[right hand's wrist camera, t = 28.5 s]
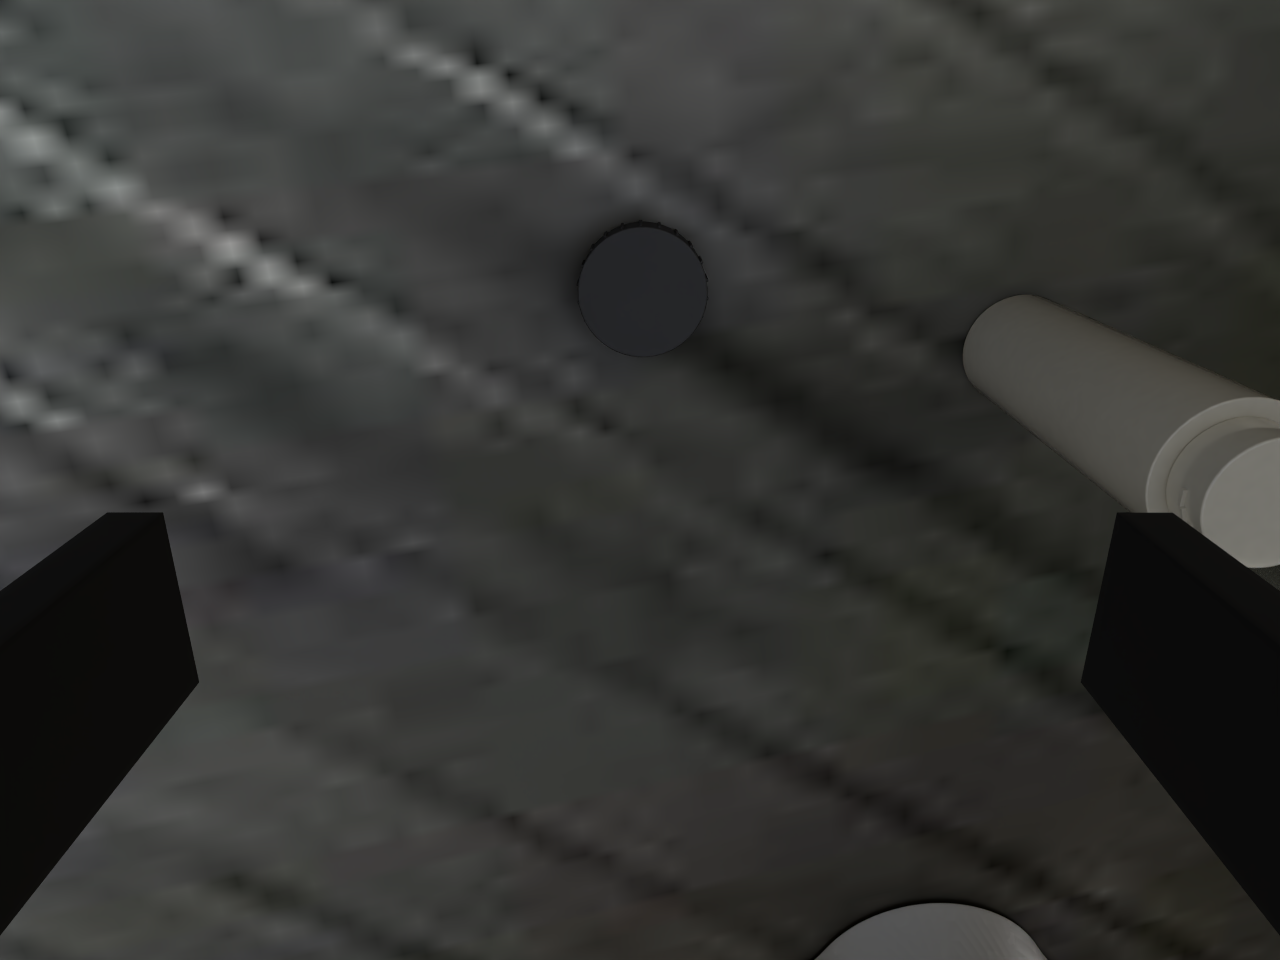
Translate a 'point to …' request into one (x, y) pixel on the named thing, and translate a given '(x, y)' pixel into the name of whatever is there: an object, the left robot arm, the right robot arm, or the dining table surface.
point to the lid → (642, 289)
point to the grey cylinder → (1137, 420)
